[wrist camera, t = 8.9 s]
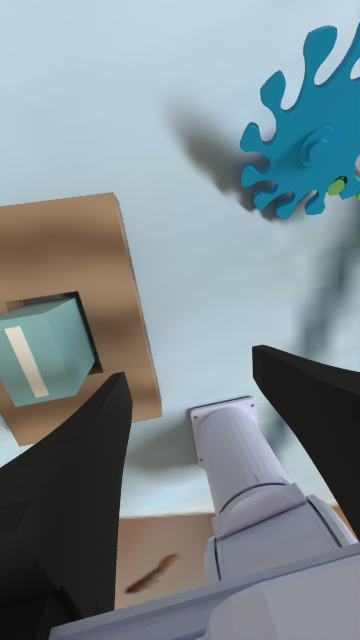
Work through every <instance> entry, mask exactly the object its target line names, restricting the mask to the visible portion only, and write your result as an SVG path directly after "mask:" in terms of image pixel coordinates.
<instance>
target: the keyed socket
mask: <svg viewBox="0 0 360 640" xmlns="http://www.w3.org/2000/svg"><path fill="white" fill-rule="evenodd" d="M77 295H80V298H81V302H82V305H83V308H84V311H85V314H86V318H87V321H88V324H89V327H90V330H91V334H92V337H93V340H94V343H95V346H96V349H97V353H98V357H97V359H96V360H95V362H94V364H93V366H92V367H91V369H90V371H89V373H88V374H87V376H86V378H85V380H84V381H83V383H82V385H81V387H80V389H79V390H78V392H77V394H76V395H75V396H69V397H64V398H59V399H54V400H49V401H44V402H39V403H34V404H29V405H24V406H19V407H15V405H14V403H13V401H12V399H11V397H10V395H9V393H8V391H7V390H6V388H5V386H4V384H3V382H2V380H1V378H0V412H1V414H2V416H3V418H4V420H5V421H6V423H7V425H8V427H9V429H10V430H11V432H12V434H13V436H14V438H15V439H16V441H17V443H18V445H19V447H20V446H25V445H30V444H34V443H37V442H39V441H40V440H41V439H43V438H44V437H45V436H47V435H48V434H50V433H51V432H52V431H53V430H55V429H56V428H57V427H58V426H59V425H61V424H62V423H63V422H64V421H65V420H67V419H68V418H69V417H70V416H71V415H72V414H73V413H75V412H76V411H77V410H78V409H79V408H80V407H81V406H82V405H83V404H84V403H85V402H86V401H87V400H88V399H89V398H90V397H91V396H92V395H93V394H94V393H95V392H96V391H97V390H98V389H99V387H100V386H101V385H102V384H103V383H104V382H105V381H106V380H107V379H108V378H109V377H110V376H111V375H112V374H113V373H118V372H123V371H124V372H125V375H126V379H127V383H128V386H129V390H130V394H131V397H132V401H133V409H132V422H131V423H134V422H138V421H143V420H148V419H152V418H157V417H162V404H161V396H160V391H159V387H158V382H157V377H156V373H155V368H154V363H153V359H152V354H151V349H150V345H149V340H148V335H147V331H146V326H145V322H144V317H143V312H142V308H141V303H140V298H139V294H138V289H137V284H136V280H135V275H134V270H133V266H132V261H131V256H130V252H129V247H128V242H127V238H126V233H125V228H124V224H123V219H122V214H121V210H120V205H119V201H118V200H117V198H116V197H115V195H114V194H113V192H111V193H103V194H95V195H87V196H80V197H72V198H64V199H56V200H48V201H40V202H32V203H24V204H17V205H9V206H1V207H0V315H2V314H4V313H7V312H9V311H12V310H15V309H17V308H20V307H23V306H25V305H28V304H31V303H33V302H39V301H46V300H52V299H58V298H64V297H70V296H77Z"/></svg>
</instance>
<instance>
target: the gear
mask: <svg viewBox="0 0 360 640" xmlns="http://www.w3.org/2000/svg"><path fill="white" fill-rule="evenodd" d="M336 38H337V28H336V27H334V26H329V25H328V26H323V27H320V28H317V29H315V30H313V31H311V32H309V33H308V35H307V37H306V40H305V43H304V48H303V55H304V59H305V75H304V80H303V84H302V87H301V90H300V93H299V96H298V98H297V101H296V103H295V104H294V105H293V106H292V107H291V108H290V109H288V110H283V109H282V108H281V107H280V105H281V100H282V97H283V94H284V91H285V85H286V83H285V78H284V75H283V73H282V72H281V71H280V70H279V71H278V72H276V73H274V74H273V75H272V76H271V77H270V78H269V79H268V80H267V81H266V82H265V84H264V85H263V86H262V87H261V89H260V95H261V101H262V103H263V104H264V105H265V106H266V107H268V108H269V109H270V110H271V111H272V113H273V114H274V117H275V119H276V133H275V136H274V137H273V138H272V139H271V140H270V141H267V142H264V141H262V140H261V138H260V132H259V127H258V125H257V124H256V123H253V122H250V123H249V124H248V126H247V127H246V129H245V131H244V133H243V135H242V138H241V141H240V148H241V149H242V150H243V151H245V152H249V151H257V152H260V153H262V154H264V155H265V156H266V157H267V158H268V159H269V160H270V163H269V165H268V167H267V168H265V169H263V170H259V169H257V168H256V167H255V166H254V165H253V164H251V163H247V164H245V165H243V168H242V176H241V183H242V187H249V186H251V185H252V184H254V183H256V182H259V181H263V180H271V181H276V182H277V184H276V186H275V187H274V188H273V189H270V190H266V189H260V190H257V191H256V192H255V193H254V204H255V206H256V207H257V209H258V210H262V209H264V208H265V207H266V206H267V205H268V204H269V203H270V202H271V201H272V200H273V199H274V198H276V197H277V196H279V195H281V194H284V193H286V192H294V193H293V195H292V196H291V197H290V198H288V199H286V200H283V201H281V202H279V203H278V204H277V205H276V207H275V212H276V215H277V216H278V217H280V218H283V219H287V218H289V217H290V216H291V214H292V212H293V209H294V207H295V205H296V204H297V203H298V201H299V200H300V199H301V198H302V197H303V196H305V195H306V194H307V193H308V192H310V191H312V190H317V193H316V194H315V195H314V196H313V197H311V198H310V199H309V200H308V201H307V202H306V204H305V211H306V214H307V215H316V214H321V213H322V212H323V210H324V208H325V205H324V197H325V194H326V192H328V194H329V195H336V194H338V193H339V195H340V197H341V199H347V198H349V197H351V196H353V195H356V197H357V199H358V200H359V201H360V179H359V178H360V172H359V170H358V169H357V167H356V166H355V162H356V159H357V157H358V156H359V155H360V77H358V78H356V79H350V74H351V70H352V68H353V66H354V64H355V62H356V61H357V60H358V59H359V58H360V23H359V25H358V28H357V31H356V34H355V37H354V39H353V42H352V44H351V46H350V48H349V50H348V52H347V54H346V56H345V57H344V59H343V60H342V62H341V63H340V65H339V66H338V67H337V68H336V70H335V71H334V72H333V73H332V75H331V76H330V77H329V78H328V79H327V80H326V81H325V82H324V83H322V84H320V85H315V84H314V78H315V74H316V72H317V70H318V68H319V67H320V65H321V64H322V63H323V62H324V60H325V59H326V58H327V56H328V55H329V54H330V52H331V51H332V49H333V47H334V44H335V41H336Z"/></svg>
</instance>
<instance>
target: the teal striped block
mask: <svg viewBox="0 0 360 640" xmlns="http://www.w3.org/2000/svg"><path fill="white" fill-rule="evenodd" d="M97 357H98V353H97V349H96V346H95V343H94V340H93V337H92V334H91V330H90V327H89V324H88V321H87V318H86V314H85V311H84V308H83V305H82V302H81V298H80V295H77V296H70V297H64V298H58V299H52V300H46V301H39V302H33V303H31V304H28V305H25V306H23V307H20V308H17V309H15V310H12V311H9V312H7V313H4V314H2V315H0V378H1V380H2V382H3V384H4V386H5V388H6V390H7V391H8V393H9V395H10V397H11V399H12V401H13V403H14V405H15V407H19V406H24V405H29V404H34V403H39V402H44V401H49V400H54V399H59V398H64V397H69V396H75V395H76V394H77V392H78V390H79V389H80V387H81V385H82V383H83V381H84V380H85V378H86V376H87V374H88V373H89V371H90V369H91V367H92V366H93V364H94V362H95V360H96V359H97Z"/></svg>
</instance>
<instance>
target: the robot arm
mask: <svg viewBox="0 0 360 640" xmlns="http://www.w3.org/2000/svg"><path fill="white" fill-rule="evenodd" d="M252 361H253V378H254V380H255V382H256V383H257V385H258V387H259V388H260V390H261V392H262V393H263V394H264V396H265V397H266V398H267V400H268V401H269V402H270V403H271V405H272V406H273V407H274V408H275V410H276V411H277V412H278V413H279V415H280V416H281V417H282V418H283V420H284V421H285V422H286V423H287V425H288V426H289V427H290V429H291V430H292V431H293V433H294V434H295V435H296V437H297V438H298V440H299V441H300V443H301V444H302V446H303V447H304V449H305V450H306V452H307V454H308V455H309V457H310V458H311V460H312V461H313V463H314V465H315V466H316V468H317V469H318V471H319V473H320V474H321V476H322V477H323V479H324V481H325V482H326V484H327V486H328V488H329V489H330V491H331V493H332V494H333V496H334V498H335V499H336V501H337V503H338V504H339V506H340V508H341V510H342V511H343V513H344V515H345V517H346V518H347V520H348V522H349V524H350V526H351V527H352V529H353V531H354V533H355V534H356V536H357V538H358V540H359V543H358V542H357V541H356V539H355V538H354V536H353V535H352V533H351V532H350V531H349V529H348V528H347V526H346V525H345V524H344V522H343V521H342V520H341V519H340V517H339V516H338V515H337V514H336V512H335V511H334V510H333V509H332V508H331V507H330V506H329V505H328V504H327V503H326V502H324V501H323V500H321V499H319V498H317V497H316V496H315V495H313V494H311V495H309V496H307V497H306V498H305V496H304V494H303V493H302V491H301V490H300V488H299V486H298V485H297V483H291V481H290V479H289V478H288V476H287V474H286V473H285V471H284V469H283V468H282V466H281V464H280V463H279V461H278V460H277V458H276V456H275V455H274V453H273V451H272V450H271V448H270V446H269V445H268V443H267V441H266V440H265V438H264V436H263V435H262V433H261V431H260V430H259V428H258V427H257V421H256V399H255V398H254V397H247V398H242V399H238V400H233V401H228V402H223V403H219V404H214V405H209V406H205V407H200V408H195V409H192V410H191V411H190V415H191V421H192V428H193V434H194V440H195V446H196V453H197V459H198V465H199V467H200V468H204V467H205V470H206V475H207V479H208V483H209V487H210V491H211V496H212V500H213V504H214V508H215V512H216V517H214V518H212V522H213V528H214V532H215V536H214V537H212V538H210V539H209V540H208V544H207V550H206V553H205V560H204V566H205V580H206V585H204V586H200V587H197V588H193V589H190V590H186V591H182V592H179V593H175V594H172V595H168V596H164V597H161V598H158V599H154V600H150V601H146V602H143V603H139V604H136V605H132V606H128V607H125V608H121V609H118V610H114V604H115V580H116V579H115V578H116V559H117V558H116V557H117V539H118V524H119V510H120V497H121V486H122V475H123V468H124V461H125V456H126V450H127V445H128V439H129V434H130V428H131V422H132V409H133V401H132V397H131V394H130V390H129V386H128V383H127V379H126V375H125V372H124V371H123V372H118V373H113V374H112V375H111V376H110V377H109V378H108V379H107V380H106V381H105V382H104V383H103V384H102V385H101V386H100V387H99V389H98V390H97V391H96V392H95V393H94V394H93V395H92V396H91V397H90V398H89V399H88V400H87V401H86V402H85V403H84V404H83V405H82V406H81V407H80V408H79V409H78V410H77V411H76V412H75V413H73V414H72V415H71V416H70V417H69V418H68V419H67V420H65V421H64V422H63V423H62V424H61V425H59V426H58V427H57V428H56V429H55V430H53V431H52V432H51V433H50V434H48V435H47V436H45V437H44V438H43V439H41V440H40V441H39V442H37V443H36V444H35V445H33V446H32V447H31V448H29V449H28V450H26V451H25V452H23V453H22V454H21V455H19V456H18V457H16V458H15V459H13V460H12V461H10V462H9V463H7V464H5V465H4V466H2V467H1V468H0V640H360V372H356V371H351V370H346V369H342V368H338V367H334V366H329V365H326V364H322V363H319V362H315V361H312V360H308V359H305V358H302V357H299V356H296V355H293V354H290V353H287V352H284V351H282V350H279V349H276V348H273V347H270V346H266V345H258V346H253V347H252ZM251 404H252V405H251ZM194 416H196V417H194Z"/></svg>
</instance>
